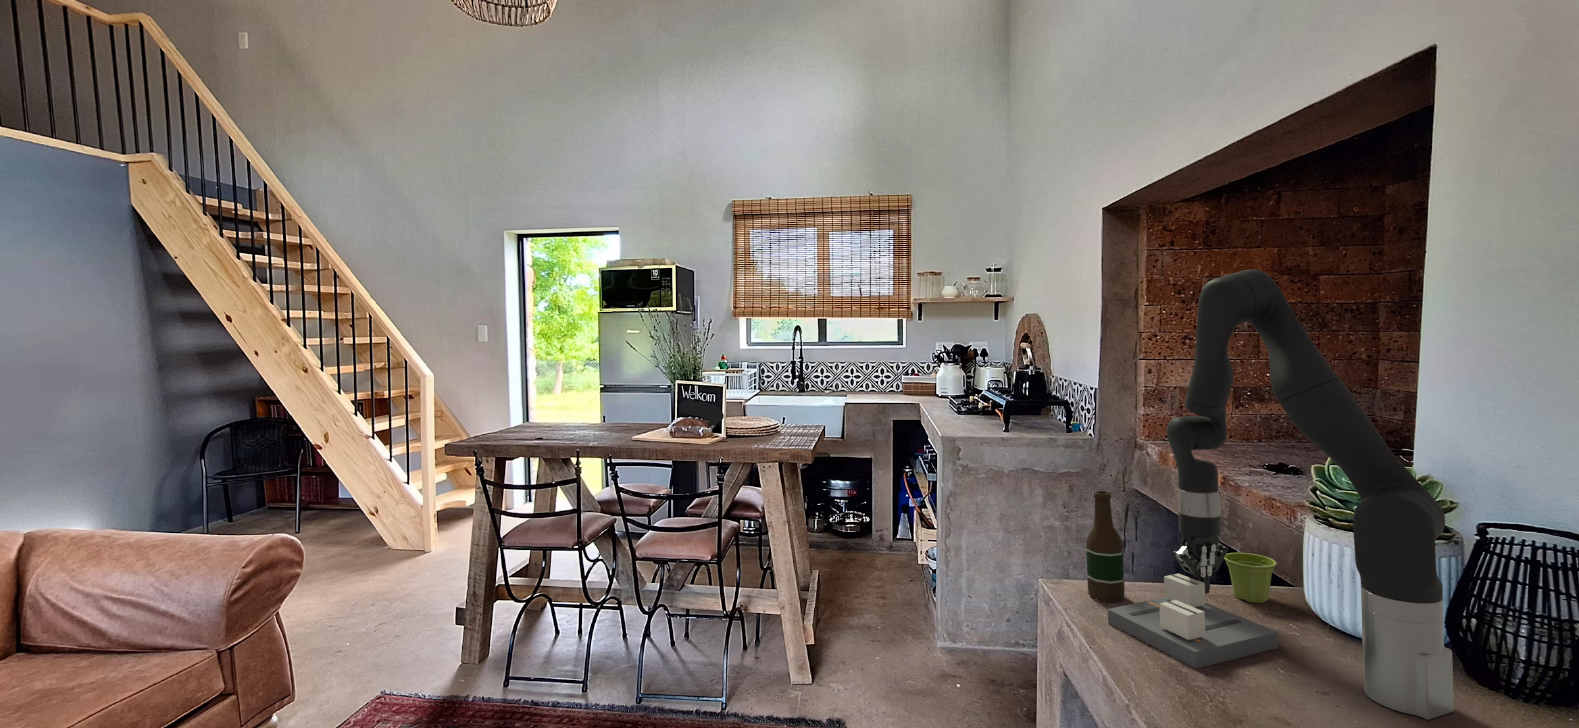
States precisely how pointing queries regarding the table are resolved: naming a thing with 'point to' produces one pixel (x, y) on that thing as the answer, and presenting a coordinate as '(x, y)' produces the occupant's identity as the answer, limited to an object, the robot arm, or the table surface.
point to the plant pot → (1250, 576)
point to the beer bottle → (1104, 554)
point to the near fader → (1182, 619)
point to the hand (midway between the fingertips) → (1202, 592)
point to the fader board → (1219, 644)
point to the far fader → (1184, 590)
